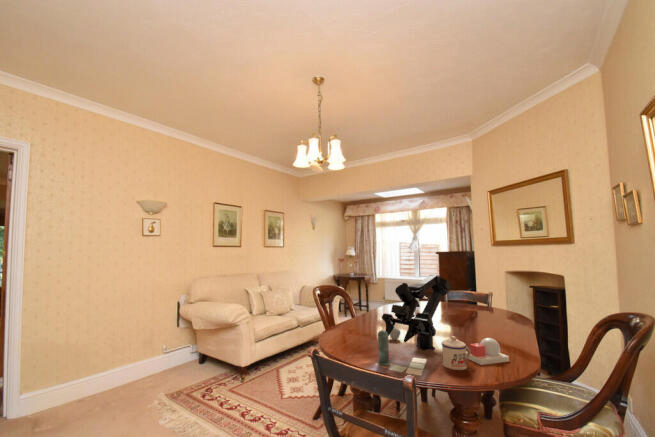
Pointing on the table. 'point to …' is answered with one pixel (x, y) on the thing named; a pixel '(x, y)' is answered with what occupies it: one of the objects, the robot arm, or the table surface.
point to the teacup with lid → (455, 354)
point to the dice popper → (487, 352)
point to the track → (412, 365)
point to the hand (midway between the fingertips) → (394, 339)
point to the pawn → (383, 348)
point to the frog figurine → (395, 333)
